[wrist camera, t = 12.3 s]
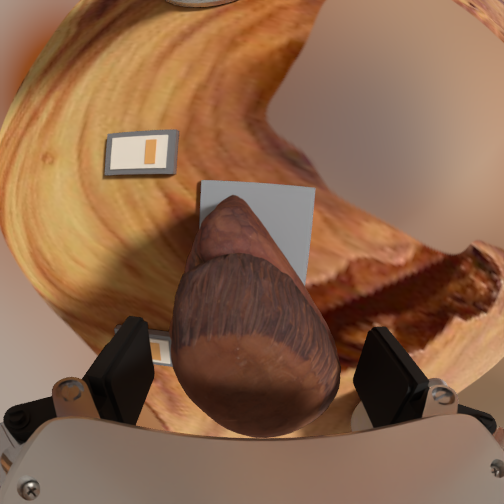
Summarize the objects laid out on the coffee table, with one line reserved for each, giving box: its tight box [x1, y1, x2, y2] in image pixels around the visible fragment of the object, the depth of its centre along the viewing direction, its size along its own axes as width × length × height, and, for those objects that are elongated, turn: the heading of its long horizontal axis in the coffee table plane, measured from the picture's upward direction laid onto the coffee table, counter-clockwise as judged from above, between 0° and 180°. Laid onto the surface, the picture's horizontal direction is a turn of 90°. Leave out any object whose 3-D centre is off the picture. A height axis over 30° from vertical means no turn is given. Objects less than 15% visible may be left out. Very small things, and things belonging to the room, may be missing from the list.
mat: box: [199, 180, 315, 286], centre depth 25 cm, size 15×10×1 cm, turn 176°
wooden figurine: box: [169, 195, 341, 438], centre depth 16 cm, size 12×6×18 cm, turn 32°
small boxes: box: [105, 130, 179, 367], centre depth 25 cm, size 24×7×1 cm, turn 176°
